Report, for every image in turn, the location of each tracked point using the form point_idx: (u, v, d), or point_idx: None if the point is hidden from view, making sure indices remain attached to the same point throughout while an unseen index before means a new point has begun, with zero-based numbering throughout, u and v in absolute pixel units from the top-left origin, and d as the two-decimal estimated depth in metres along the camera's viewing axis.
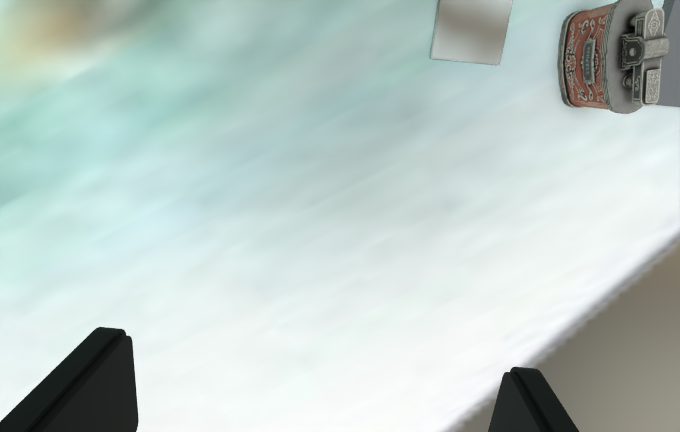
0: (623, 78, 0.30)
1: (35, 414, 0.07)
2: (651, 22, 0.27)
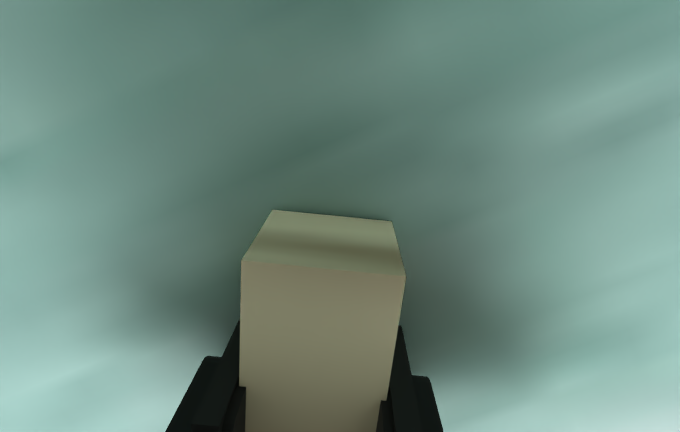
0: None
1: (232, 380, 0.08)
2: None
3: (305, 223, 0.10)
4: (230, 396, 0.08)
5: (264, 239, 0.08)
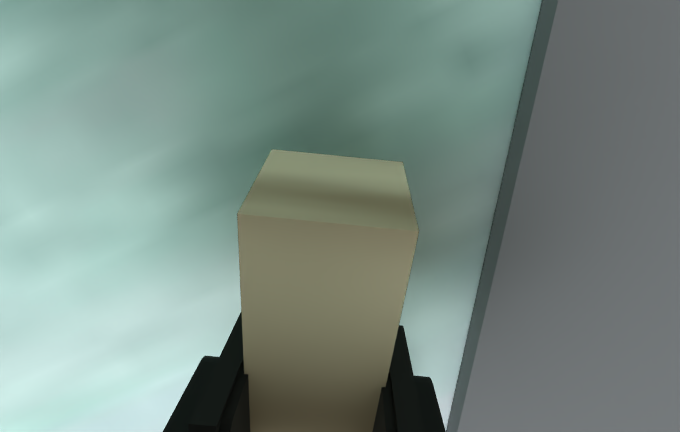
0: None
1: (230, 379, 0.08)
2: None
3: (308, 165, 0.09)
4: (228, 396, 0.08)
5: (263, 186, 0.08)
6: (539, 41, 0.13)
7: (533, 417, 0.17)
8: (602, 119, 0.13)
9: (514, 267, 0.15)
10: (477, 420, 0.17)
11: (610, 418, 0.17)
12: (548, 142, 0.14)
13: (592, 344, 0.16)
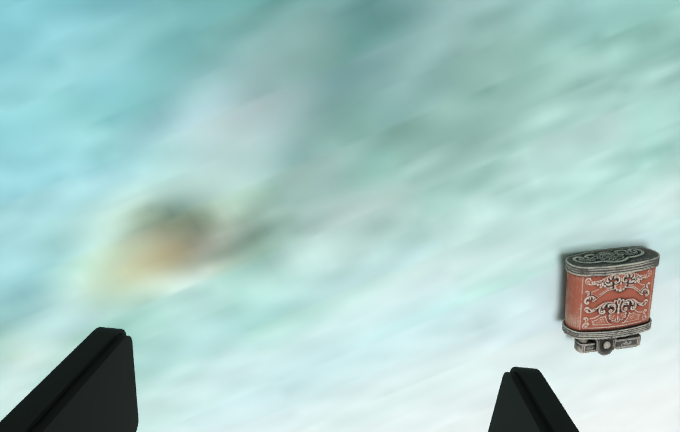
0: None
1: (35, 414, 0.07)
2: None
3: None
4: None
5: None
6: None
7: None
8: None
9: None
10: None
11: None
12: None
13: None
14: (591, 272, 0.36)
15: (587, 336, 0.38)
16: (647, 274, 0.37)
